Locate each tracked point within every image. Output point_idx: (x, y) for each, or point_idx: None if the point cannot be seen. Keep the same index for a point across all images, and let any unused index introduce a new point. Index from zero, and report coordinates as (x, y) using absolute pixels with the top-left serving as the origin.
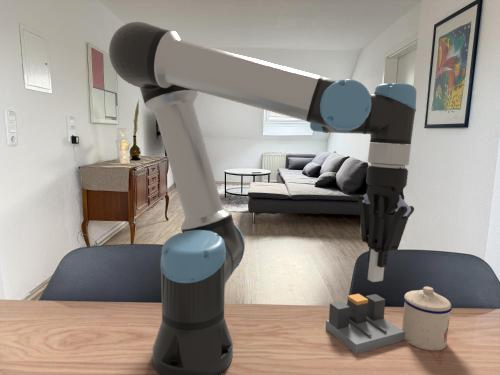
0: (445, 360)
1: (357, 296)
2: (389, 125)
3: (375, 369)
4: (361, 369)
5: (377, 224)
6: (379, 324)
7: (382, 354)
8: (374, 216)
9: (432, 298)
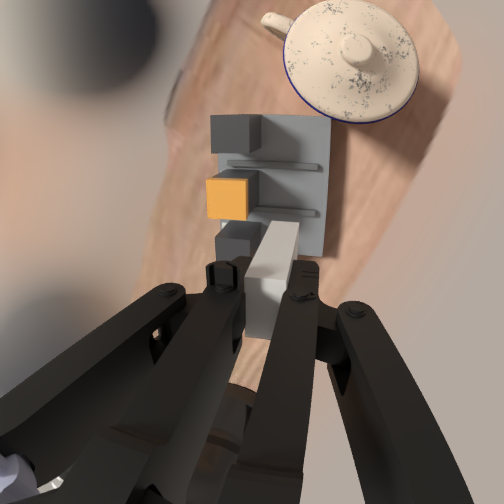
0: (415, 105)
1: (219, 195)
2: None
3: (371, 249)
4: (359, 270)
5: (203, 423)
6: (281, 148)
7: (347, 202)
8: (184, 487)
9: (386, 70)
